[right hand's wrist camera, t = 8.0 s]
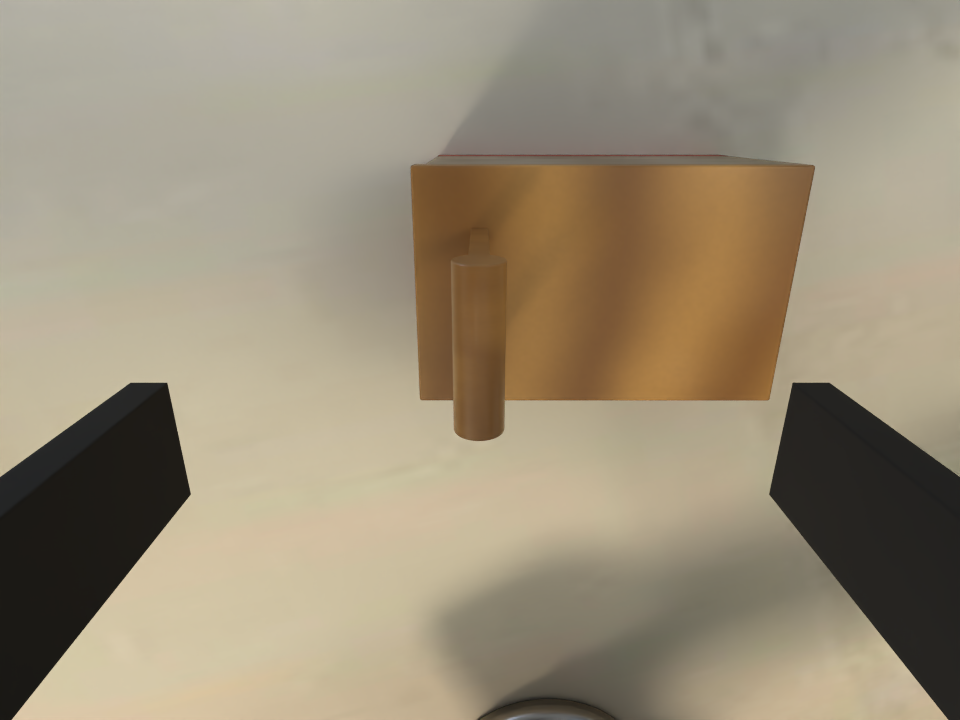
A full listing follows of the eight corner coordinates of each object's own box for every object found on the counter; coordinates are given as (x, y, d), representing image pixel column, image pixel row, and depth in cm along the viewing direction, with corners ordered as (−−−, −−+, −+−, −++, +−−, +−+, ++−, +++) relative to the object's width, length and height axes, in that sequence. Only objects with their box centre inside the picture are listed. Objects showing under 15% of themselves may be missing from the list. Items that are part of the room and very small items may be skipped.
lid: (421, 392, 27) (397, 502, 19) (412, 164, 23) (377, 181, 15) (760, 392, 27) (877, 502, 19) (804, 163, 23) (971, 181, 15)
